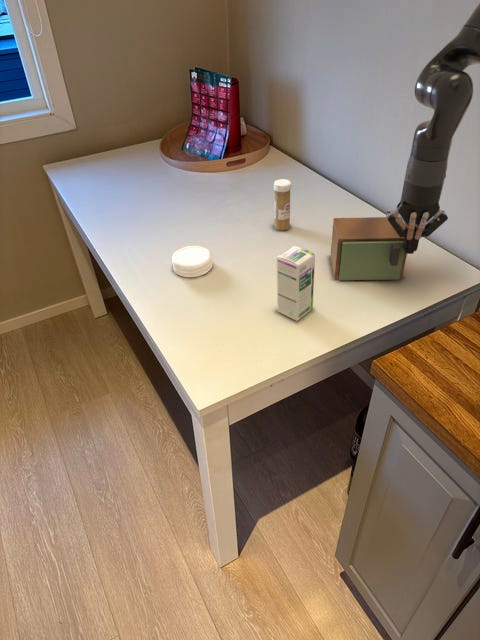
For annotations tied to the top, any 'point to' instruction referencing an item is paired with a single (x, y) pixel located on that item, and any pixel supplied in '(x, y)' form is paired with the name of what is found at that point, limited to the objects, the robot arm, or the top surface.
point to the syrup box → (295, 282)
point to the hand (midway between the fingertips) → (408, 251)
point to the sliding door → (371, 260)
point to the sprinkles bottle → (282, 204)
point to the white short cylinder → (192, 261)
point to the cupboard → (361, 236)
